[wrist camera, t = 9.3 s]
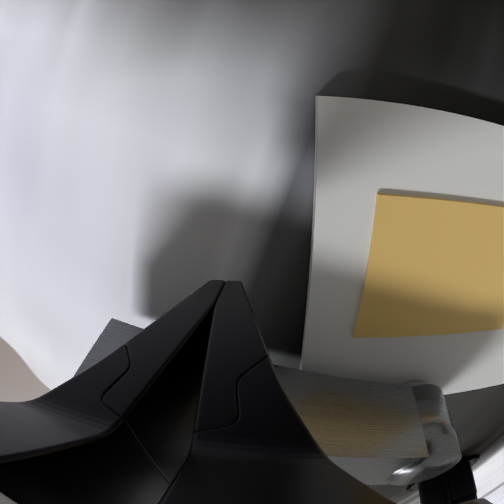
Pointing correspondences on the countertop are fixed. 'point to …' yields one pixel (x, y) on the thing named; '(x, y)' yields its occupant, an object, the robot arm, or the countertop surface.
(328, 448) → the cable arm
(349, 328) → the label panel
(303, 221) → the countertop surface
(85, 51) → the countertop surface
